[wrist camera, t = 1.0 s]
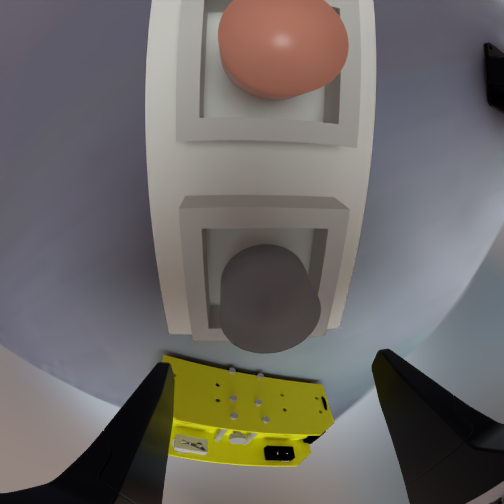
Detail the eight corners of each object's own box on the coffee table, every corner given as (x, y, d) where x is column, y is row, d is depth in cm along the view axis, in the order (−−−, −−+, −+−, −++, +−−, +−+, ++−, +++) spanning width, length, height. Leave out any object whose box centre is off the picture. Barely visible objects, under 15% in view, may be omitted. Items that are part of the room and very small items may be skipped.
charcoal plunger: (310, 243, 14) (328, 272, 11) (300, 314, 15) (312, 350, 13) (219, 244, 13) (217, 275, 11) (221, 317, 15) (221, 354, 13)
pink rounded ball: (323, 18, 9) (346, -4, 6) (322, 104, 11) (347, 101, 8) (222, 9, 8) (221, -19, 6) (218, 99, 10) (215, 92, 8)
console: (353, 13, 12) (391, -12, 8) (327, 303, 22) (348, 348, 17) (165, 2, 11) (144, -34, 7) (175, 307, 21) (164, 356, 16)
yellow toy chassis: (156, 381, 25) (144, 451, 18) (165, 345, 23) (150, 426, 15) (296, 405, 29) (310, 467, 21) (321, 376, 27) (343, 444, 19)
